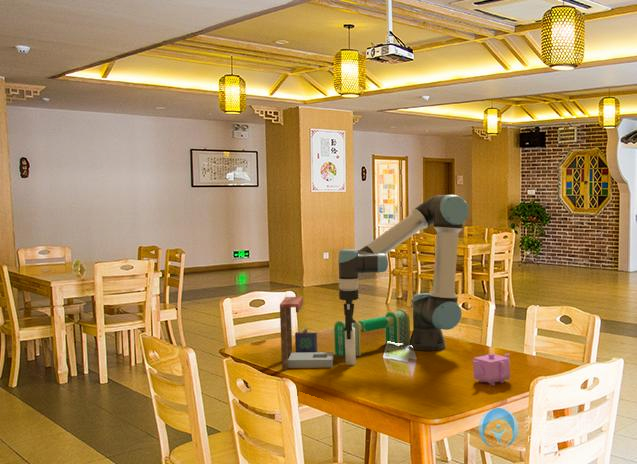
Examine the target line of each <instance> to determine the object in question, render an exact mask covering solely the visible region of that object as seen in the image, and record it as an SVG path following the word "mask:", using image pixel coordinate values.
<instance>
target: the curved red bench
mask: <svg viewBox="0 0 637 464" xmlns="http://www.w3.org/2000/svg"><path fill="white" fill-rule="evenodd" d="M303 305H304V296H285V297H284V298H283V300H282V301H281V302H280V304H279V316H280V317H279V318H280V321H279V322H280V346H281V347H280V349H281V371H287V370H288V369H289V368H288V359H289V357H290V355H291V353H293V333H292V331H293V330H292V327H293V326H292V308H295V313H299V312H300V311H301V309H302V307H303Z"/></svg>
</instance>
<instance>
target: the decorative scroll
mask: <svg viewBox="0 0 637 464" xmlns="http://www.w3.org/2000/svg"><path fill="white" fill-rule="evenodd" d="M353 320H355V323H353V328H355V348H356V357H357V356H362V353H361V349H362V347H361V345H362V344H361V332H362V333H366V332H371V331H375V330H376V331H377V330H380V329H384V344H386V343H387V341H391V342H395V343H403V344H406V345H410V338H411V328H410V327H411V325H410V323H411V321H410V315H409V313H408V312H407V310H406V309H398V310H397V311H391V310H389V311H387V312H386V314H385V315H384V316H379V317H375V318H374V317H373V318H368V319H363V320H357V319H356V318H353ZM343 328H345V320H337V321H336V322H335V323H334V327H333V344H334V345H333V348H334V356H338V357H341V358H345V331H343ZM386 345H387V344H386Z"/></svg>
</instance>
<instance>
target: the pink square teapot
mask: <svg viewBox="0 0 637 464" xmlns="http://www.w3.org/2000/svg"><path fill="white" fill-rule="evenodd" d="M510 354H511V353H505V354H504V355H498V354H495V353H488V354H485V355H479V356H476V357H473V360H472V362H473V379H475V380H477V381H478V382H479V383H488V385H489V386H495V385H496V383H497V382H498V383H500V384H505V383H506V382H505V380H510V378H511V368H510V367H511V365H510V363H511V362H510V359H511V358H510V357H509V356H510Z"/></svg>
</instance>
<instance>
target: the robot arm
mask: <svg viewBox="0 0 637 464" xmlns="http://www.w3.org/2000/svg"><path fill="white" fill-rule="evenodd" d="M469 213H470V208H469V205H468V203H467V201H466V200H465V199H464V198H463V197H461V196H460V195H456V194H436V195H433V196H431V197H429V198H428V199H426V200H425V201H423V202H422V203H420V204H419V205H418V206H416V207H415V208H413V209H412V213H410V214H409V215H408V216H406V217H405V218H403V219H402V220H401V221H399V222H397V223H396V224H395V225H393V226H392V227H390V228H389V229H388V230H386V231H385V232H384V233H382V234H380V235H379V236H378V237H376V238H375V239H373V240H372V241H370V242H369V243H368V244H366V245H365V246H364V247H362V248H360V249H354V248H351V249H350V248H349V249H348V248H347V249H345V248H344V249H340V250H339V252H338V260H337V261H338V280H337V282H336V283H337V284H338V288H339V290H338V298H339V300H341V301H345V303H343V310H344V311H343V314H344V317H345V318H344V321H345V328H343V331H345V348H352V347H353V346H352V327H353V323H355V320H356V319H355V320H353V317H354V316H353V315H354V311H355V310H354V309H355V303H353V302H354V301H357V300H358V299H359V274H371V273H374V274H379V273H385V272H387V269H388V268H389V259H388V257H387V255H386V254H388V253H389V252H390V251H392V250H393V249H395V248H396V247H398V246H399V245H401V244H402V243H404V242H405V241H406V240H408V239H409V238H410V237H412V236H413V235H415V234H416V233H418V232H419V231H420V230H422V229H428V228H429V227H431V226H432V225H433V228H434V230H435V231H436V240H435V241H436V242H435V253H434V255H435V256H434V269H433V272H434V273H433V285H432V291H430V292H425V293H424V292H423V293H416V294H414V295H412V303H411V304H412V325H413V326H412V328H413V329H412V331H411V332H412V333H411V334H410V344H409V346H410V345H412V346H413V348H414V349H413V350H417V351H427V352H428V351H440V350H443V349H445V348H446V339H445V337H444V334H443V331H442V330H445V331H448V330H452V329H454V328H455V327H457V326H458V324H459V323H460V322H461V319H462V316H463V315H462V309H461V307H460V306H459V304H458V299H459V297H458V295H457V294H456V292H455V289H456V288H455V287H456V273H457V260H458V258H457V257H458V244H459V243H458V242H459V233H460V232H461V231H462V230H463V227H464V226H463V225H464V222H466V220H467V219H468V217H469Z"/></svg>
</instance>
